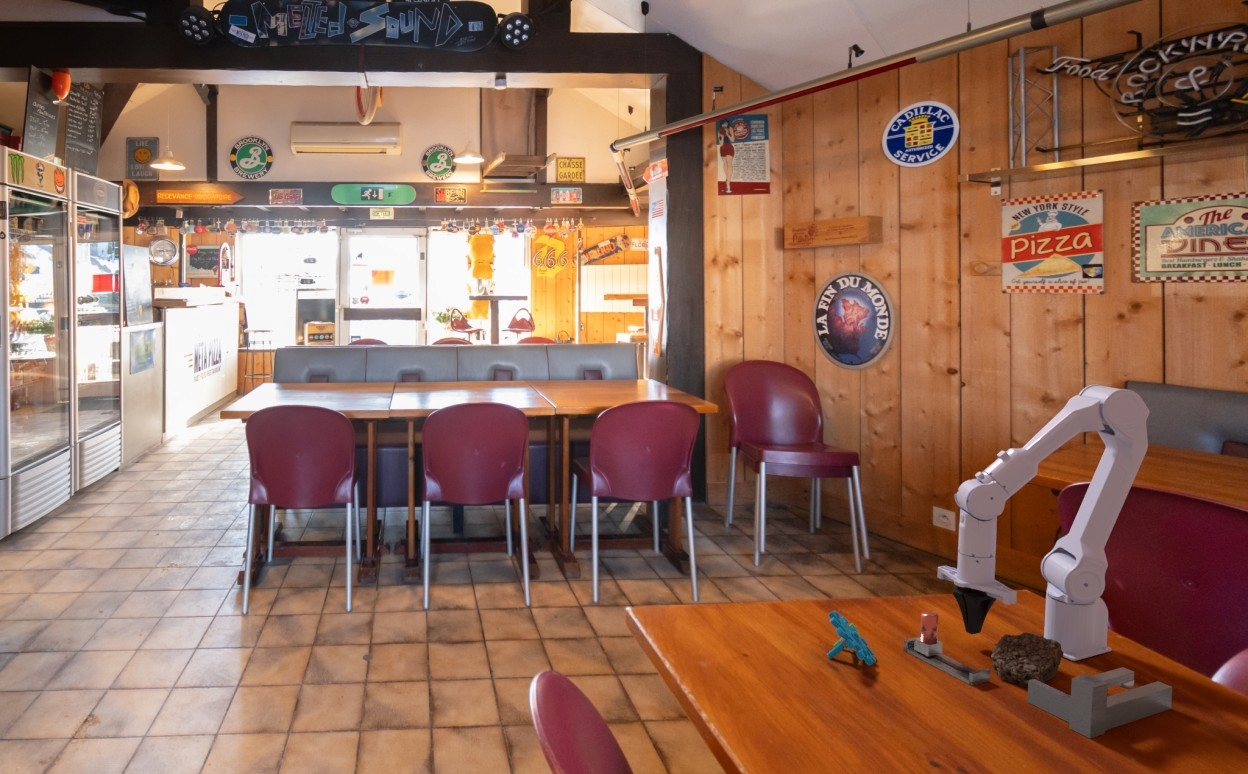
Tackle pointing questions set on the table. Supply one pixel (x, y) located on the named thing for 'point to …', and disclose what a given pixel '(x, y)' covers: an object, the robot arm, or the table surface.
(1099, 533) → the robot arm
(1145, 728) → the table surface
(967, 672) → the lever rail
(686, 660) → the table surface
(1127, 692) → the grey bracket piece
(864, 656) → the gear
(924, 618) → the lever
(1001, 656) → the concrete sample
